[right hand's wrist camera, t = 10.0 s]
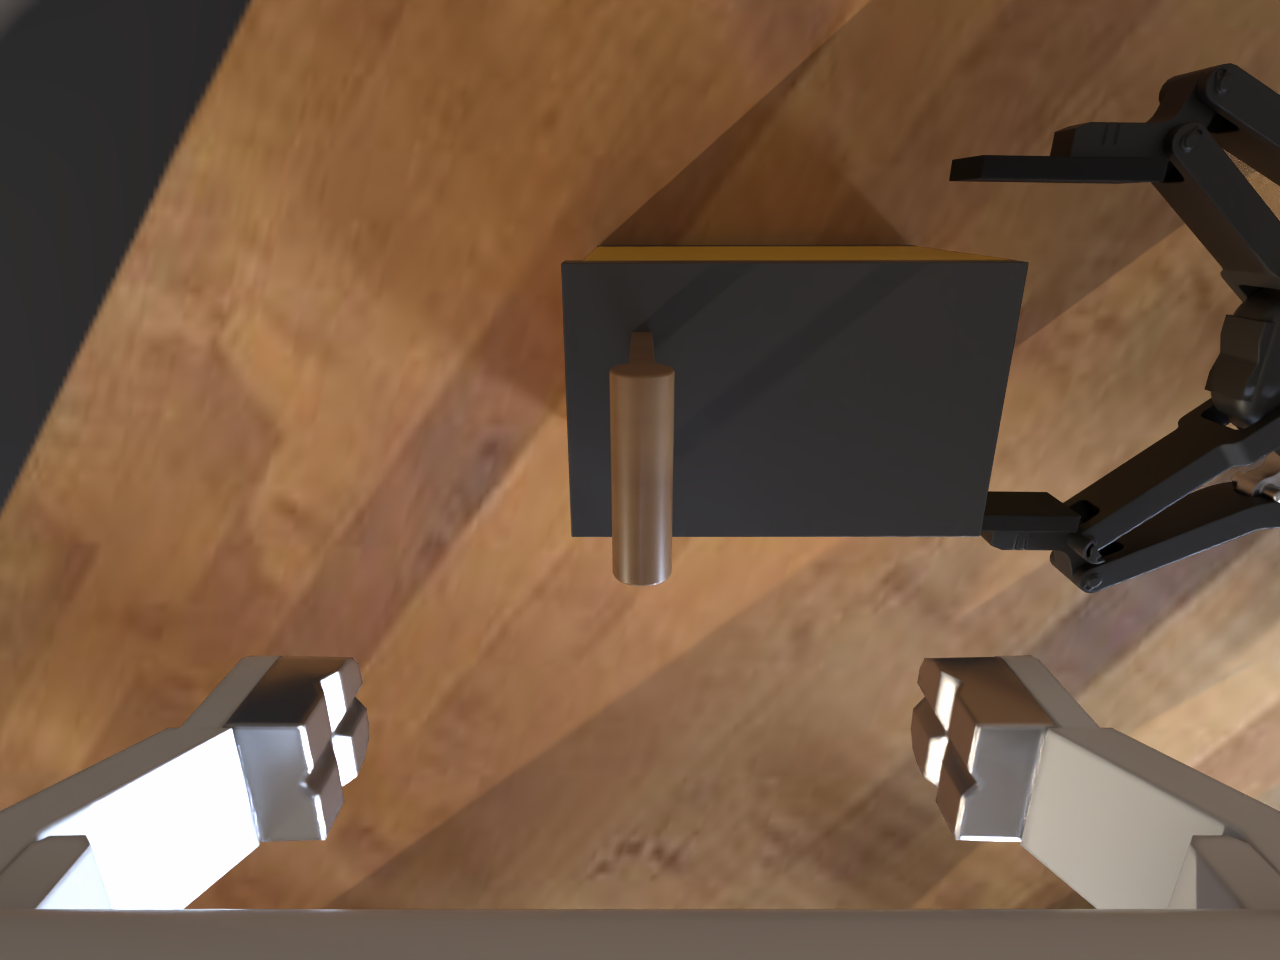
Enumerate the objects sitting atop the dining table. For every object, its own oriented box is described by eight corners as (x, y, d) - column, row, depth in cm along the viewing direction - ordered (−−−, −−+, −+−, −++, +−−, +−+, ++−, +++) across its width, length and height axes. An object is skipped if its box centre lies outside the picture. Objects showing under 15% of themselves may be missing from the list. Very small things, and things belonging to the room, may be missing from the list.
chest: (602, 445, 38) (589, 524, 28) (598, 245, 34) (581, 260, 25) (885, 444, 38) (967, 524, 28) (909, 244, 34) (1012, 259, 25)
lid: (574, 525, 28) (546, 653, 20) (564, 260, 25) (526, 286, 17) (967, 524, 28) (1100, 653, 20) (1012, 259, 25) (1195, 285, 17)
